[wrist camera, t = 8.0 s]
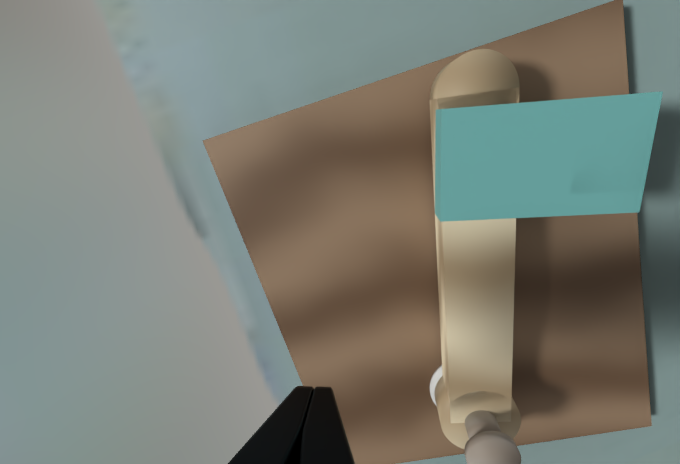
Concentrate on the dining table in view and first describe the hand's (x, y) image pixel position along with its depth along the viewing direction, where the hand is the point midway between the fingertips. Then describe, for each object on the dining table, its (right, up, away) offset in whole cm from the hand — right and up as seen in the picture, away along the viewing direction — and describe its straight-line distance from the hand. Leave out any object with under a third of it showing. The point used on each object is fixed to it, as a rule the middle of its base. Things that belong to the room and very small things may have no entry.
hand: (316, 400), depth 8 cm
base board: (+6, +1, +12) cm, 13 cm away
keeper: (+8, +1, +10) cm, 13 cm away
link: (+7, +2, +10) cm, 12 cm away
